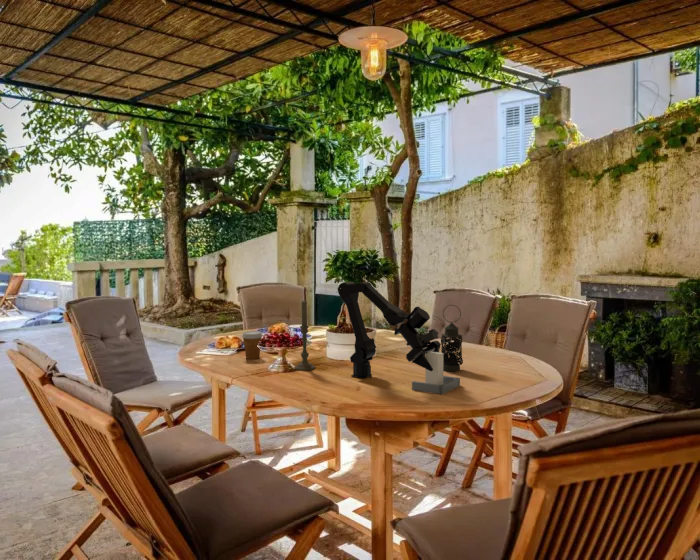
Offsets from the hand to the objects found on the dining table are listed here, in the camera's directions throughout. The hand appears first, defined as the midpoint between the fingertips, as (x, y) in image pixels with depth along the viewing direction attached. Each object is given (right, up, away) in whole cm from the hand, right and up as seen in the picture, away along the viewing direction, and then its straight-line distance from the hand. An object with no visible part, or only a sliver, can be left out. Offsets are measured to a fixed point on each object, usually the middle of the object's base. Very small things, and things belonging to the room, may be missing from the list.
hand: (437, 368), depth 223 cm
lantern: (+10, -6, +30) cm, 32 cm away
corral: (-1, -7, +1) cm, 8 cm away
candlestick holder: (-53, -6, +36) cm, 64 cm away
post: (-1, -8, +1) cm, 8 cm away
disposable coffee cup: (-79, -4, +59) cm, 99 cm away
